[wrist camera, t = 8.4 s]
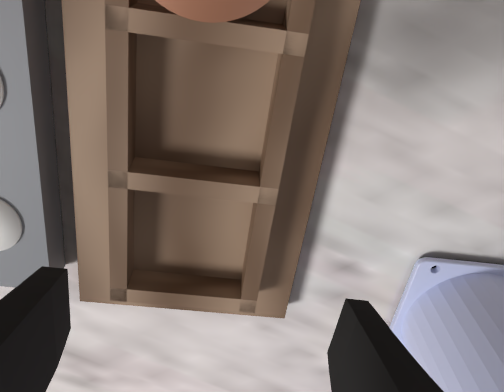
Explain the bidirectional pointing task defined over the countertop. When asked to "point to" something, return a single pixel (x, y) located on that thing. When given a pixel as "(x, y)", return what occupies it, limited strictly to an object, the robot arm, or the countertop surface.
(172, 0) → the wooden peg
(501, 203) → the countertop surface
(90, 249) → the board
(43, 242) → the stand
